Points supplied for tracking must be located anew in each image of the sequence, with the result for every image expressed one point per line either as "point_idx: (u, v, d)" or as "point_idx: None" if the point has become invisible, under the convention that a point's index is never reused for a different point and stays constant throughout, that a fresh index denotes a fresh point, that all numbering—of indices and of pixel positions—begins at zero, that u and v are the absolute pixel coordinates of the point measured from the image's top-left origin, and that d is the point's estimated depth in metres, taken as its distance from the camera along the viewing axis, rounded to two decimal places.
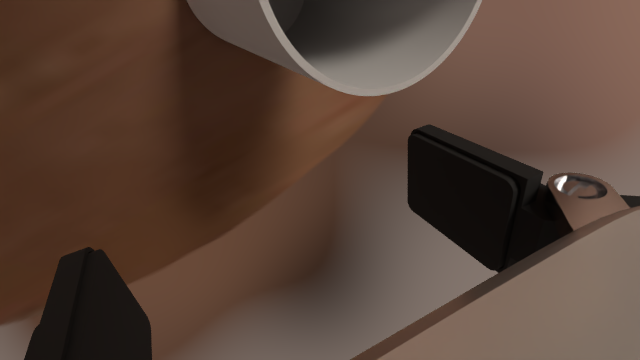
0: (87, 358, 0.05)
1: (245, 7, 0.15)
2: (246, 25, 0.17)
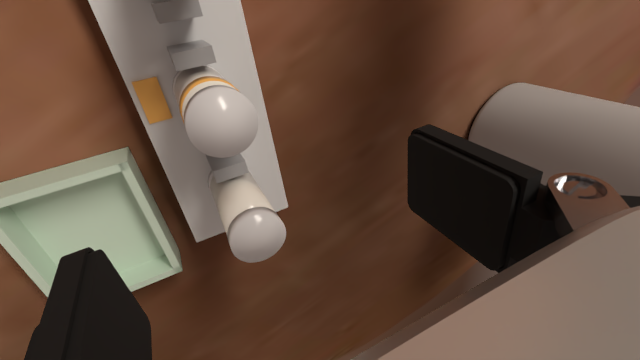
0: (87, 358, 0.05)
1: None
2: None
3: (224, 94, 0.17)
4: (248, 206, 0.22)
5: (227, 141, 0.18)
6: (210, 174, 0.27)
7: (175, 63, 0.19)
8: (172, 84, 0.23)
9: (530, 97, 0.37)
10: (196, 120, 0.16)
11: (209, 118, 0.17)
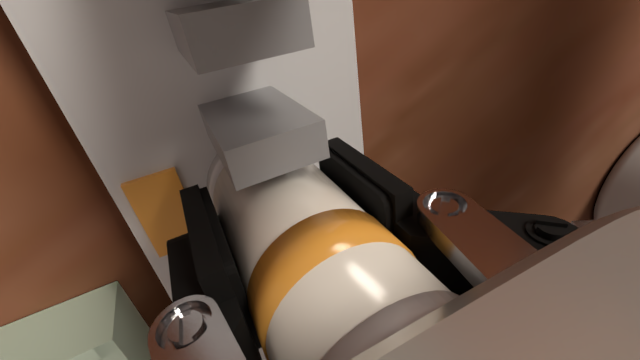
0: None
1: None
2: None
3: None
4: None
5: None
6: None
7: (234, 172, 0.07)
8: (207, 178, 0.11)
9: None
10: None
11: None
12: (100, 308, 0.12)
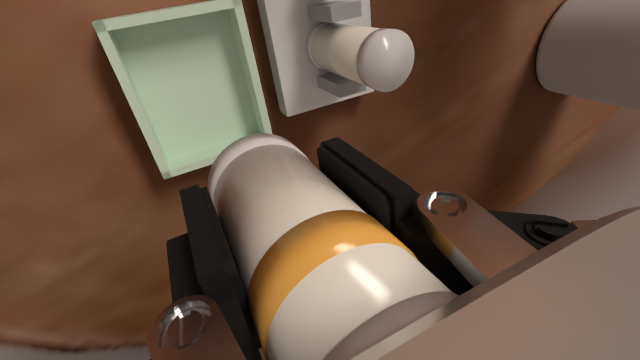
0: None
1: None
2: None
3: None
4: (378, 28, 0.21)
5: None
6: (310, 33, 0.26)
7: None
8: (208, 181, 0.11)
9: None
10: None
11: None
12: None
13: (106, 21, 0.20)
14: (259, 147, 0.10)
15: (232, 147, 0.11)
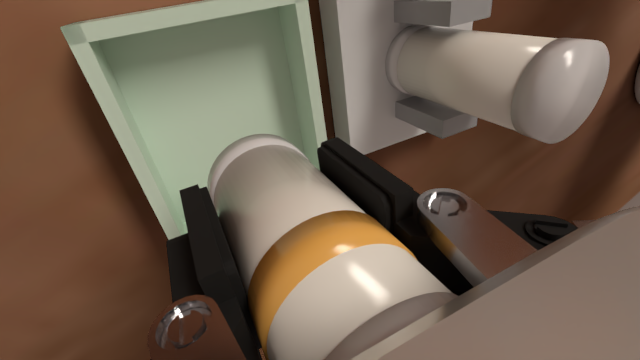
0: None
1: None
2: None
3: None
4: (549, 38, 0.12)
5: None
6: (396, 42, 0.18)
7: None
8: (208, 181, 0.11)
9: None
10: None
11: None
12: None
13: (86, 25, 0.11)
14: (259, 147, 0.10)
15: (231, 148, 0.11)
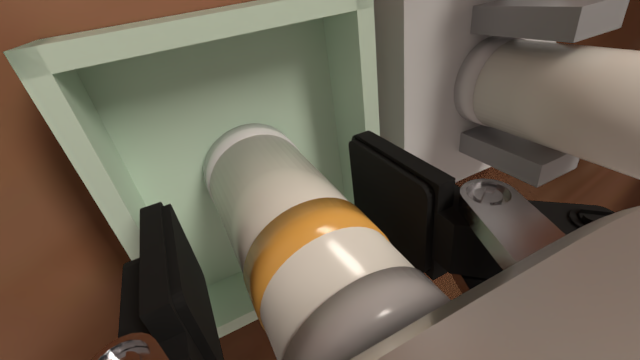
0: (183, 277, 0.07)
1: None
2: None
3: None
4: None
5: None
6: (471, 60, 0.13)
7: None
8: (204, 166, 0.12)
9: None
10: None
11: None
12: None
13: (48, 48, 0.07)
14: (252, 137, 0.11)
15: (226, 136, 0.12)
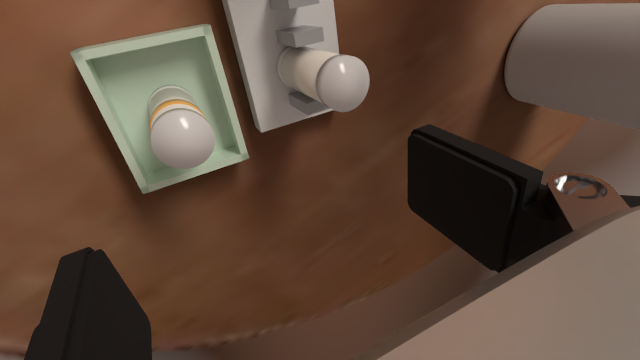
0: (87, 358, 0.05)
1: None
2: None
3: (183, 116, 0.20)
4: (335, 54, 0.22)
5: (188, 155, 0.21)
6: (280, 55, 0.28)
7: None
8: (148, 104, 0.27)
9: (570, 10, 0.39)
10: (160, 138, 0.20)
11: (171, 136, 0.20)
12: (199, 25, 0.25)
13: (84, 51, 0.22)
14: (166, 88, 0.26)
15: (156, 89, 0.26)
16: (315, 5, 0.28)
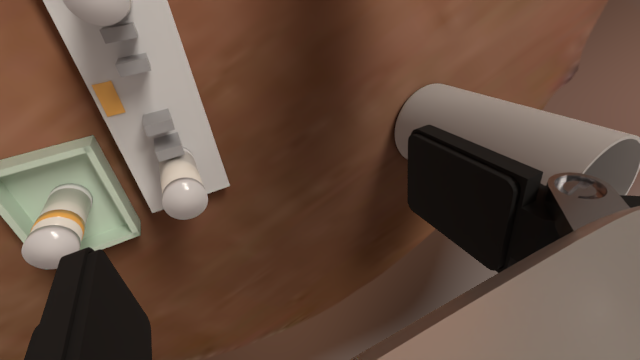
0: (87, 358, 0.05)
1: None
2: None
3: (47, 234, 0.26)
4: (178, 177, 0.29)
5: (56, 259, 0.27)
6: None
7: (119, 71, 0.27)
8: None
9: (438, 95, 0.45)
10: (29, 251, 0.26)
11: (39, 248, 0.27)
12: (86, 140, 0.32)
13: None
14: (60, 189, 0.32)
15: (54, 189, 0.33)
16: (188, 116, 0.34)
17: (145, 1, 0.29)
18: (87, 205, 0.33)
